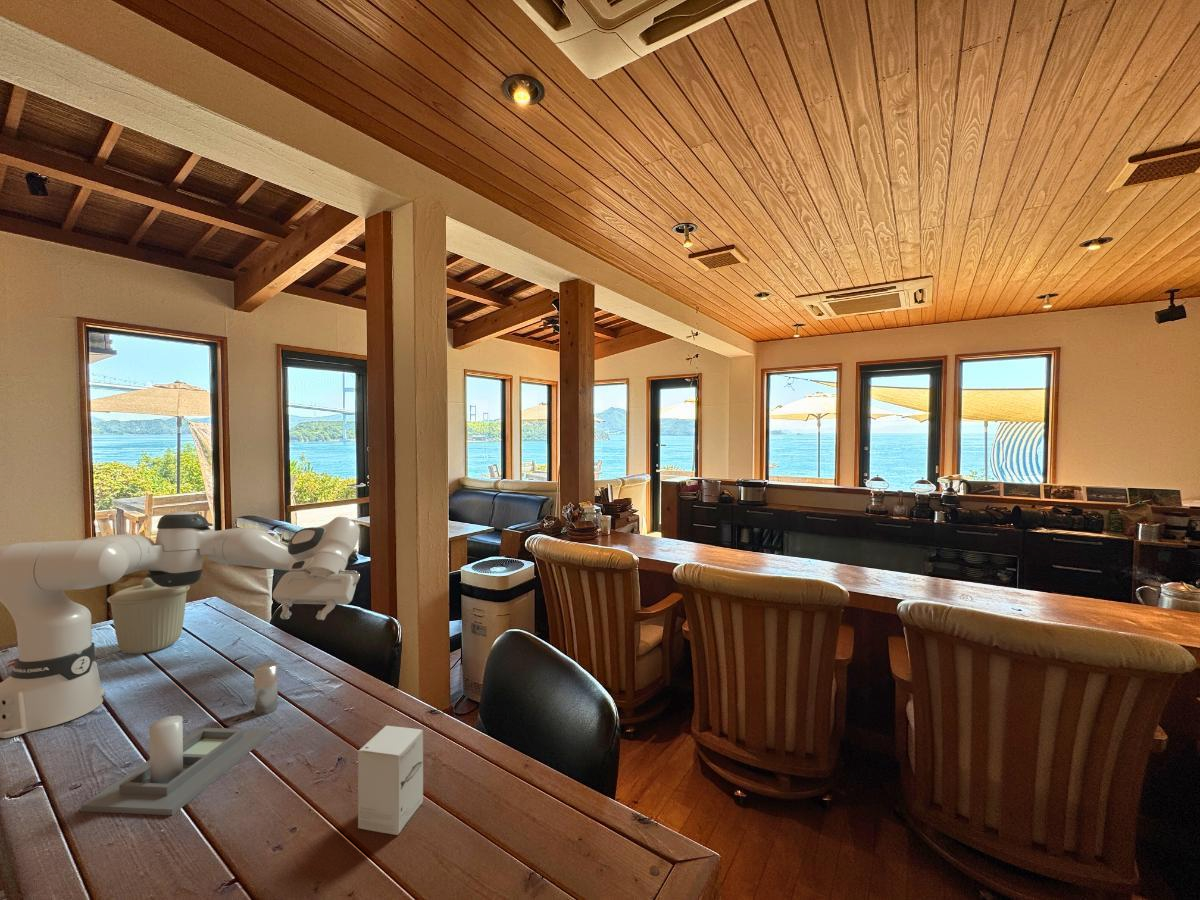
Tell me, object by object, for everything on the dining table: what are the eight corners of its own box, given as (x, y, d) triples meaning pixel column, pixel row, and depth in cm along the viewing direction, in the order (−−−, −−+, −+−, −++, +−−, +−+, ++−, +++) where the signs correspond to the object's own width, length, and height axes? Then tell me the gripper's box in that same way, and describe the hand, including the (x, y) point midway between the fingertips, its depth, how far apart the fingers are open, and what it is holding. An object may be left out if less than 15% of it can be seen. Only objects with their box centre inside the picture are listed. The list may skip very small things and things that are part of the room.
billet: (249, 715, 109) (248, 670, 109) (264, 704, 113) (263, 661, 113) (268, 715, 109) (267, 671, 108) (282, 704, 113) (281, 662, 113)
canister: (156, 633, 155) (155, 568, 155) (206, 636, 153) (205, 570, 152) (89, 658, 137) (88, 584, 137) (144, 662, 135) (143, 587, 135)
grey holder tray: (80, 811, 80) (79, 745, 80) (198, 732, 102) (197, 680, 102) (172, 815, 79) (171, 749, 79) (270, 734, 101) (270, 682, 101)
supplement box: (398, 836, 75) (397, 756, 75) (356, 829, 77) (355, 750, 76) (424, 802, 82) (424, 728, 82) (386, 795, 84) (385, 723, 84)
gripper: (366, 576, 134) (346, 624, 125) (295, 575, 135) (270, 623, 126) (357, 564, 130) (336, 613, 120) (284, 563, 131) (257, 612, 121)
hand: (301, 618), depth 123 cm, fingers open, 8 cm apart
